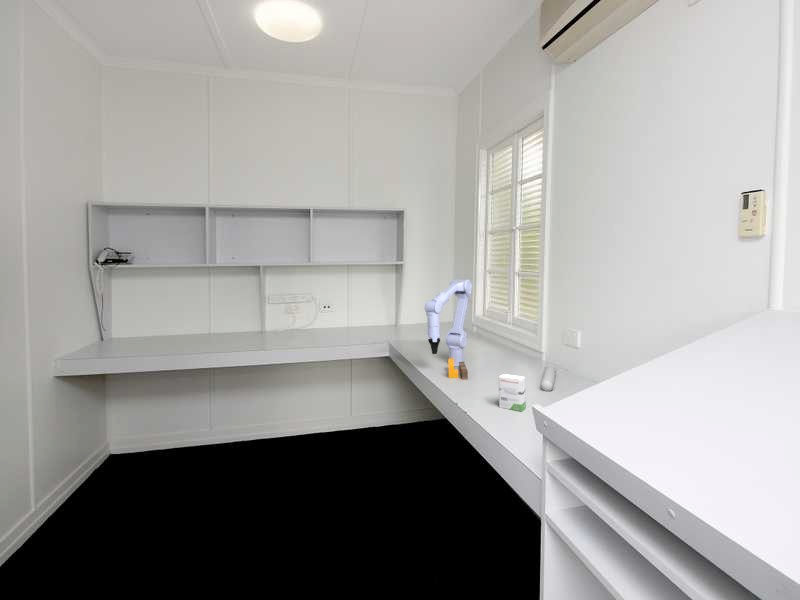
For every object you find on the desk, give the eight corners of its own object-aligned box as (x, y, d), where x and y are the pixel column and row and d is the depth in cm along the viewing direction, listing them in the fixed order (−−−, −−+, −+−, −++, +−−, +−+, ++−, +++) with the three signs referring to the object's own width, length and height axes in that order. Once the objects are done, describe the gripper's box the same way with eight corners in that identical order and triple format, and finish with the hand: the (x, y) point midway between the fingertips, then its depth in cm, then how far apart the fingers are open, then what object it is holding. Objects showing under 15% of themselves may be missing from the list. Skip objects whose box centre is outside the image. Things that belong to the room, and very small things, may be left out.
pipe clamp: (458, 378, 186) (458, 364, 185) (448, 378, 187) (448, 364, 186) (457, 371, 198) (457, 358, 197) (448, 371, 198) (448, 358, 198)
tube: (555, 383, 162) (558, 366, 184) (542, 378, 163) (546, 362, 186) (551, 395, 163) (554, 377, 186) (537, 390, 165) (542, 372, 187)
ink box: (526, 407, 147) (526, 376, 146) (521, 412, 143) (521, 379, 142) (503, 403, 153) (503, 372, 151) (498, 407, 149) (498, 376, 147)
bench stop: (459, 369, 199) (459, 361, 199) (464, 369, 199) (463, 361, 199) (462, 379, 184) (462, 370, 183) (467, 379, 183) (467, 370, 183)
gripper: (425, 323, 201) (425, 350, 203) (425, 328, 187) (426, 357, 188) (439, 323, 201) (440, 350, 202) (441, 328, 186) (441, 357, 188)
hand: (434, 353), depth 195 cm, fingers closed
